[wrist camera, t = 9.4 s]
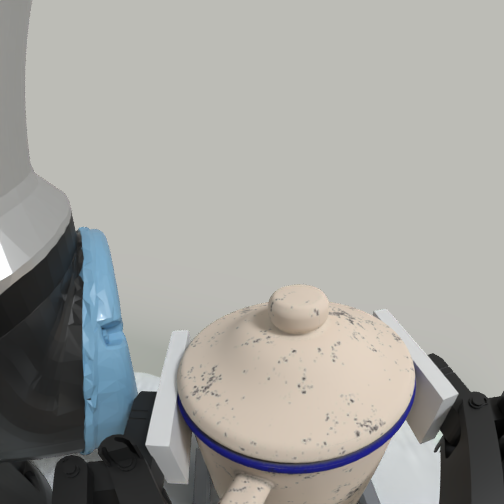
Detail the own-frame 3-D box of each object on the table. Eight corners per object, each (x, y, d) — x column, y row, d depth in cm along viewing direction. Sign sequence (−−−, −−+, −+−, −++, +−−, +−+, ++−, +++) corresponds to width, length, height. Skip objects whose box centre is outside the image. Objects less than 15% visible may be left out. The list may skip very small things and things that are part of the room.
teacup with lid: (250, 403, 19) (235, 243, 15) (380, 428, 15) (423, 257, 12) (153, 539, 9) (19, 391, 5) (329, 599, 5) (452, 560, 1)
